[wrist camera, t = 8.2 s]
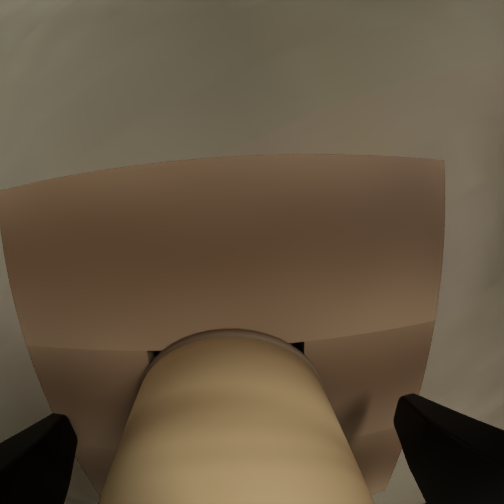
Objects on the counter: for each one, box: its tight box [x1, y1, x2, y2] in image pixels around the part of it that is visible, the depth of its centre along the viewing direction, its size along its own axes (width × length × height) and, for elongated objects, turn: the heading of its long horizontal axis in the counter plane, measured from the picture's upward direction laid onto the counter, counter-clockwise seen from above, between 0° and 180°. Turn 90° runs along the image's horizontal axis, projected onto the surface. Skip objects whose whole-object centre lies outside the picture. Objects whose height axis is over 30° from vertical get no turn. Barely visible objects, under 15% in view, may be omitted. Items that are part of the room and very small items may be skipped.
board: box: [0, 154, 445, 496], centre depth 9 cm, size 13×12×3 cm
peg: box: [98, 328, 375, 504], centre depth 7 cm, size 5×5×8 cm
